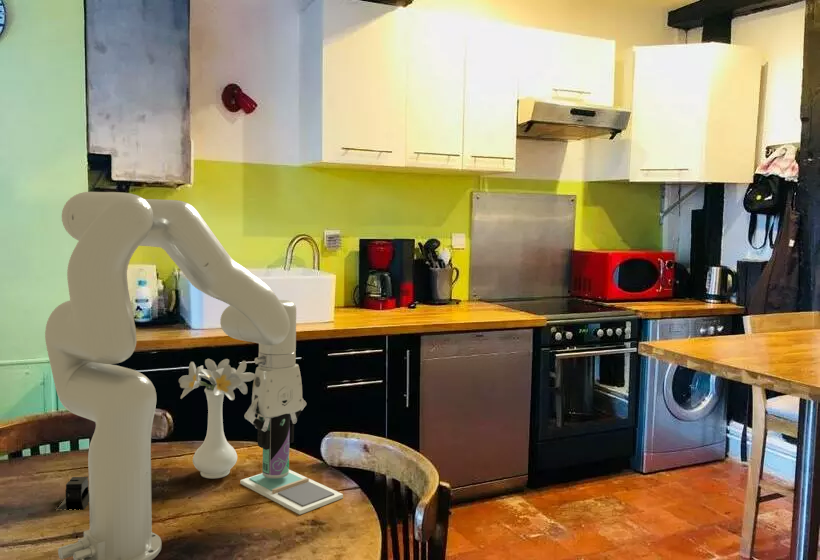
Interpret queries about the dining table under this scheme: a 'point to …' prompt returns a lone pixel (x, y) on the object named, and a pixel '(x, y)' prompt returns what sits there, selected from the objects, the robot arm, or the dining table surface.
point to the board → (293, 491)
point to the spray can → (277, 447)
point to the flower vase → (216, 413)
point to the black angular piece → (76, 494)
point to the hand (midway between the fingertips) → (275, 443)
